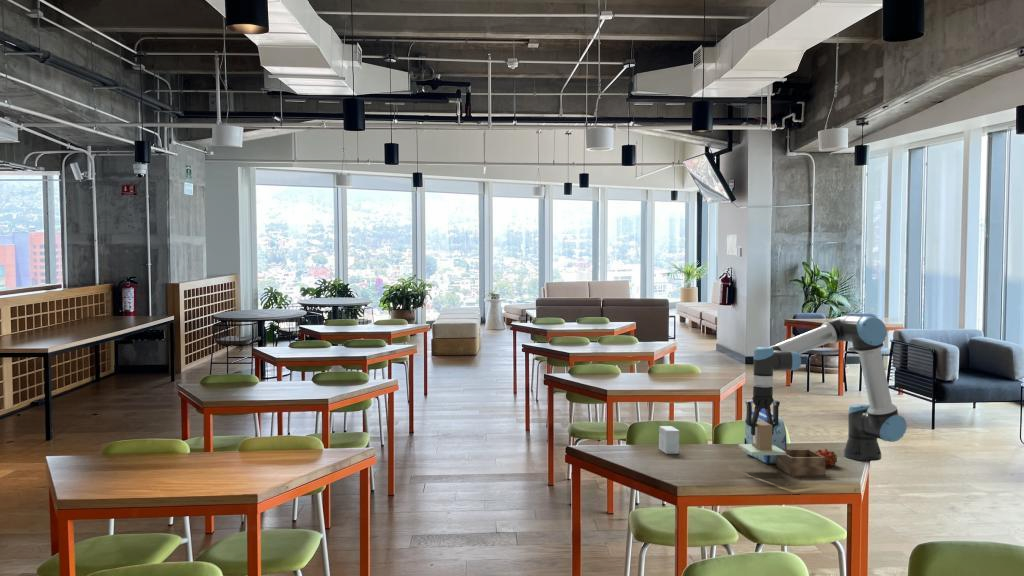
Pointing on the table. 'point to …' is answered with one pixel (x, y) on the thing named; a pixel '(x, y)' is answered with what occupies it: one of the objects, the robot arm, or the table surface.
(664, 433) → the skincare box
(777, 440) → the lunch box
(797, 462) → the box
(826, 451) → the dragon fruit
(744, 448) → the lid
